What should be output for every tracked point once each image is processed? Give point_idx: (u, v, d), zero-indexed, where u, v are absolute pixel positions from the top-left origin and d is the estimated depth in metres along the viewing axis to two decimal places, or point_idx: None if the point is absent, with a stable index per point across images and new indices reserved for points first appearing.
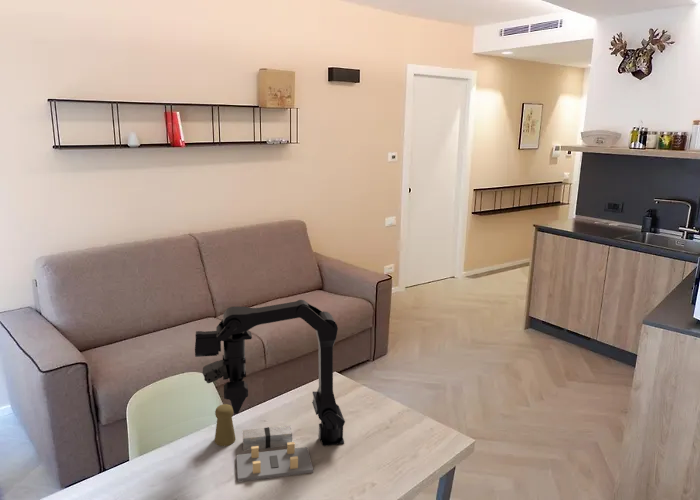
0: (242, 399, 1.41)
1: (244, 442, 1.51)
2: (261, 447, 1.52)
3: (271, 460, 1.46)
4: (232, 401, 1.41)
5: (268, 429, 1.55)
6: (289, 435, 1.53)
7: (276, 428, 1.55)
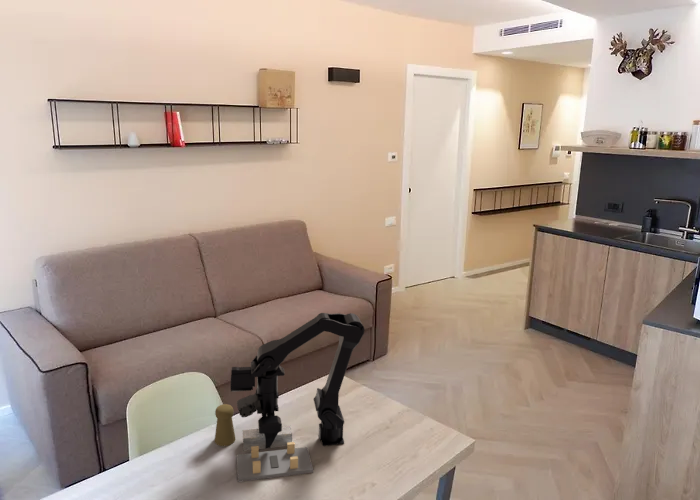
0: (275, 433, 1.47)
1: (244, 442, 1.51)
2: (261, 447, 1.52)
3: (271, 460, 1.46)
4: (266, 435, 1.47)
5: None
6: (289, 435, 1.53)
7: None
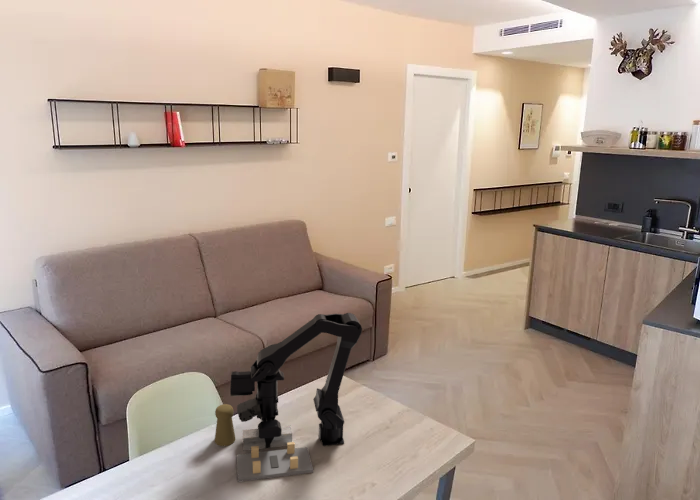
0: None
1: (244, 442, 1.51)
2: (261, 447, 1.52)
3: (271, 460, 1.46)
4: None
5: None
6: (289, 435, 1.53)
7: None
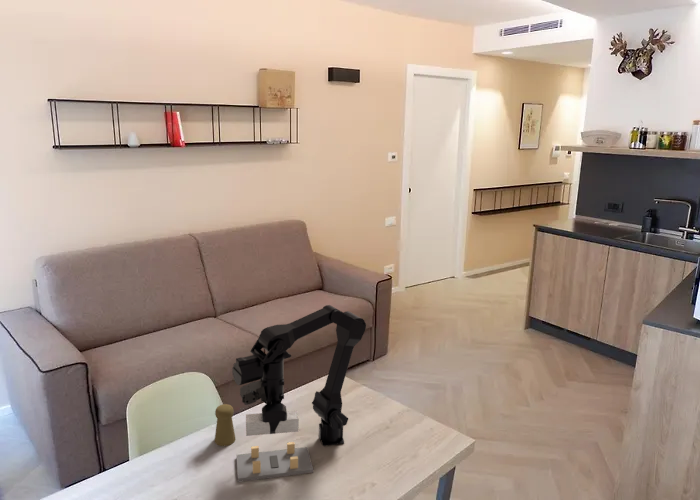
0: None
1: (247, 427, 1.41)
2: (265, 433, 1.42)
3: (271, 460, 1.46)
4: None
5: None
6: (295, 421, 1.43)
7: None
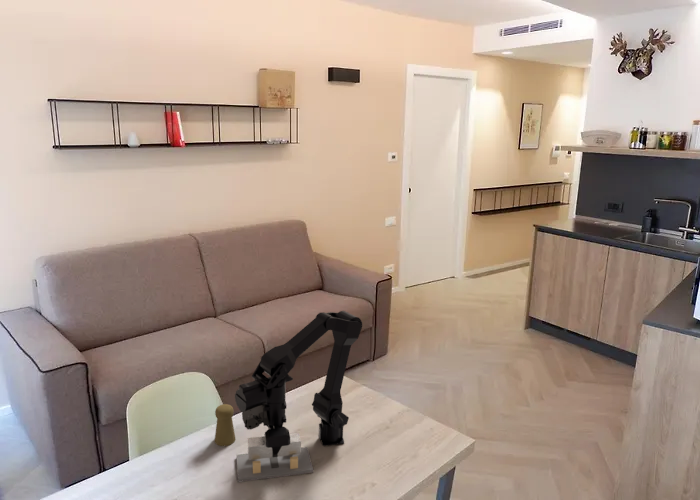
0: None
1: (249, 451, 1.40)
2: (268, 456, 1.42)
3: (271, 460, 1.46)
4: None
5: None
6: (297, 443, 1.43)
7: None
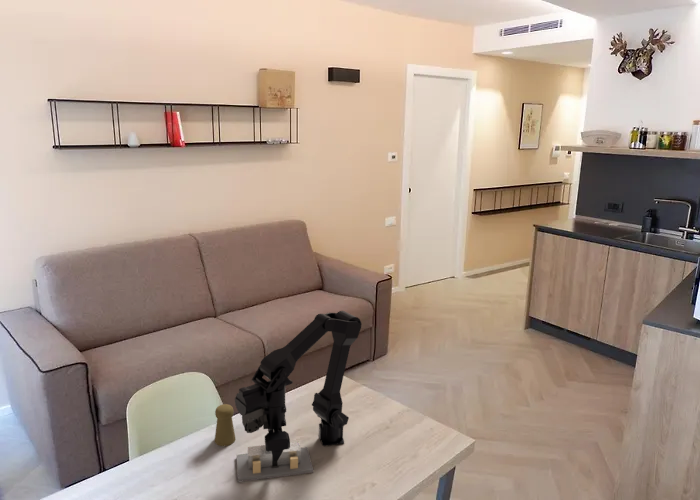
0: None
1: (249, 460, 1.41)
2: (267, 465, 1.43)
3: None
4: None
5: None
6: (297, 452, 1.44)
7: None
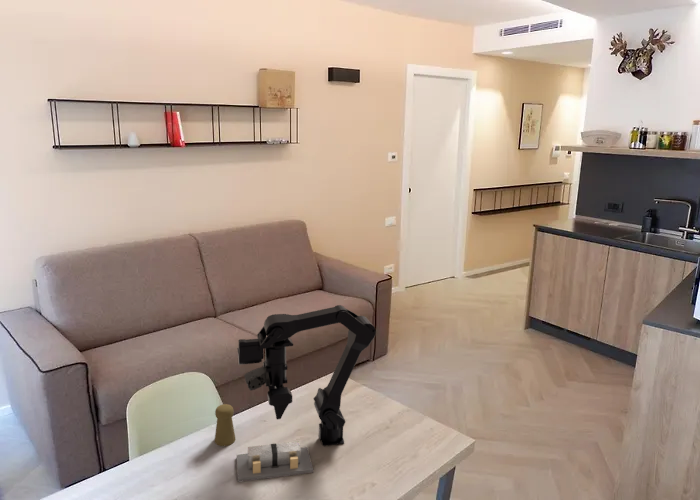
0: (285, 405, 1.44)
1: (249, 460, 1.41)
2: (267, 465, 1.43)
3: None
4: (276, 407, 1.44)
5: (275, 445, 1.45)
6: (297, 452, 1.44)
7: (284, 445, 1.46)
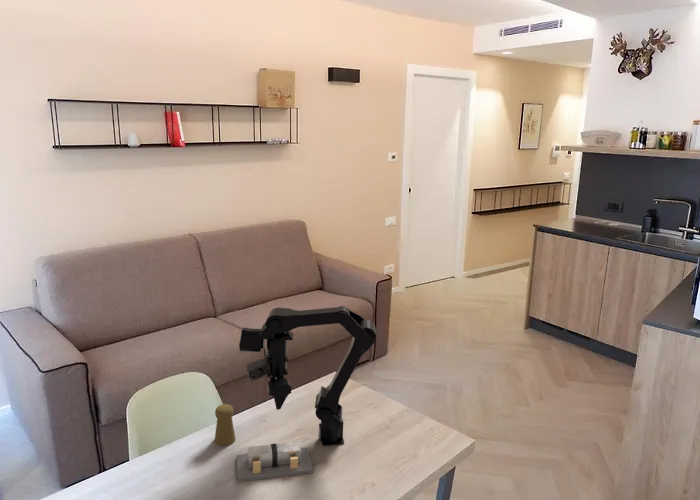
0: (285, 396, 1.48)
1: (249, 460, 1.41)
2: (267, 465, 1.43)
3: None
4: (275, 397, 1.48)
5: (275, 445, 1.45)
6: (297, 452, 1.44)
7: (284, 445, 1.46)
